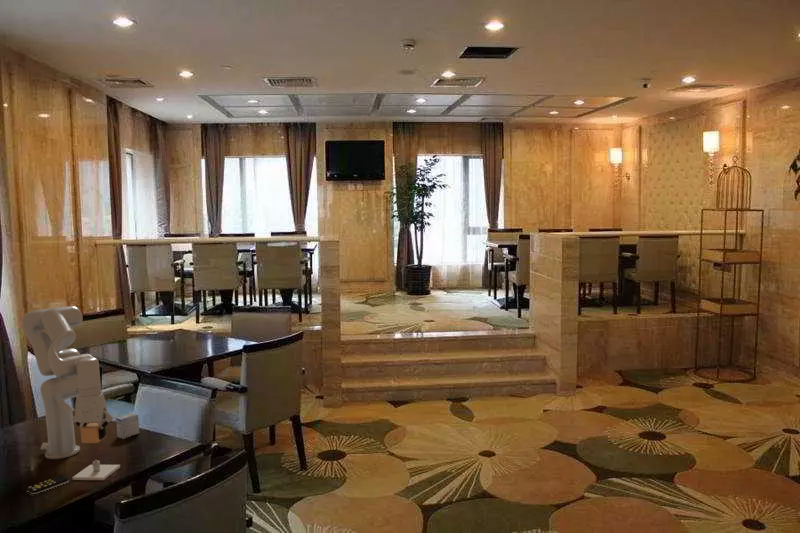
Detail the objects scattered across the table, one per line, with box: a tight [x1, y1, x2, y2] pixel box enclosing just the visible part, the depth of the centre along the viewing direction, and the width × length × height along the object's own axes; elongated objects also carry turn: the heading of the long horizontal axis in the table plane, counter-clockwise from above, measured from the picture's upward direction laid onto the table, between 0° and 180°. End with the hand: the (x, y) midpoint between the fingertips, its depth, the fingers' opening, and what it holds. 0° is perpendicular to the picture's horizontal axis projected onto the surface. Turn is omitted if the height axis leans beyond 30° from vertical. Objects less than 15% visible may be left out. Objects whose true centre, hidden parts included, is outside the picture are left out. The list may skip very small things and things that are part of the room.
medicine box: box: [115, 412, 140, 440], centre depth 269 cm, size 8×4×9 cm, turn 144°
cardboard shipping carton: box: [79, 423, 107, 444], centre depth 229 cm, size 6×6×6 cm
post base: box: [72, 459, 121, 481], centre depth 230 cm, size 12×11×5 cm
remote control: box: [26, 475, 70, 495], centre depth 221 cm, size 6×13×2 cm, turn 144°
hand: (94, 437), depth 229 cm, fingers closed on cardboard shipping carton, 5 cm apart
